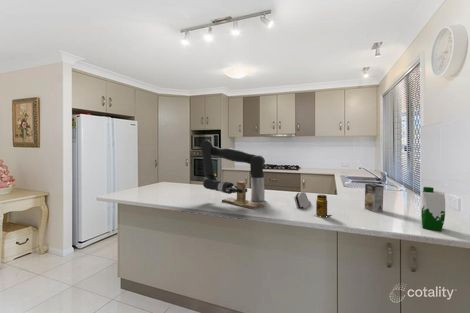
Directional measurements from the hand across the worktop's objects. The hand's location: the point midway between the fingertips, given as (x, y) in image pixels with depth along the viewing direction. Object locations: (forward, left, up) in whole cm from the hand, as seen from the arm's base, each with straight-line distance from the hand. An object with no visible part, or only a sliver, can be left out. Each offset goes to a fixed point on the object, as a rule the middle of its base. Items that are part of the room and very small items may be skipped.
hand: (244, 191), depth 158 cm
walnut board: (-10, -12, -12) cm, 19 cm away
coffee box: (-55, +59, -12) cm, 82 cm away
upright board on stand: (0, -3, -8) cm, 9 cm away
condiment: (-22, +41, -12) cm, 49 cm away
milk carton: (-38, +90, -12) cm, 99 cm away
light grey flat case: (-35, +21, -12) cm, 43 cm away
